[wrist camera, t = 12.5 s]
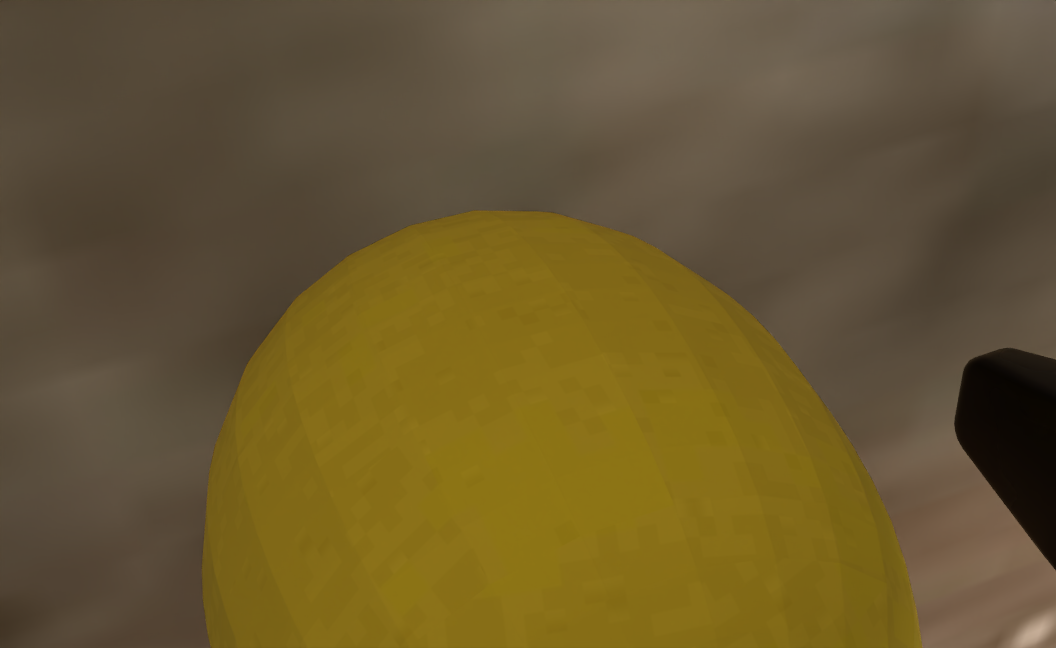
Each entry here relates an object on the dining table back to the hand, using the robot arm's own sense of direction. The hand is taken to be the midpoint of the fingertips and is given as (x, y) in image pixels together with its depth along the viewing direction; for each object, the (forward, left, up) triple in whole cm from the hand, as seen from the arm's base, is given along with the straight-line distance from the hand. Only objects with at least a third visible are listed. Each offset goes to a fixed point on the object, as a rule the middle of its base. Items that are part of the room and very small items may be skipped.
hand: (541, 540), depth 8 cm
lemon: (0, 0, -4) cm, 4 cm away
